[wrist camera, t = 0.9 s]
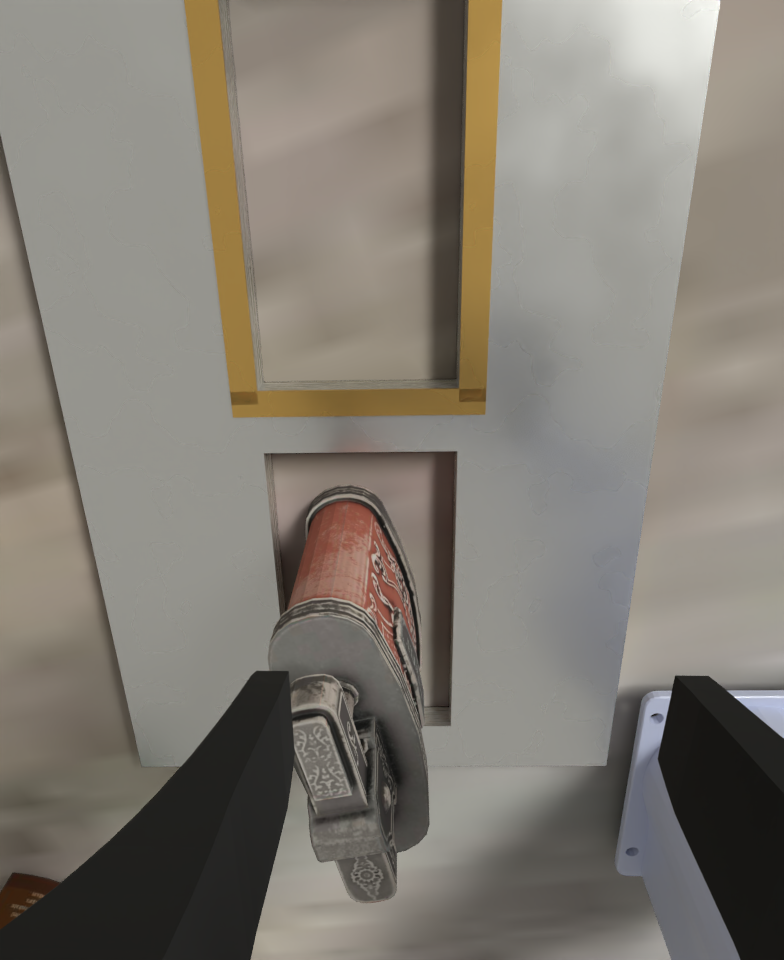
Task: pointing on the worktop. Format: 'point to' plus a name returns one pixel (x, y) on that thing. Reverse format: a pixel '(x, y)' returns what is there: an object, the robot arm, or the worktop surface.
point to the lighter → (356, 690)
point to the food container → (22, 895)
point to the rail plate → (363, 404)
